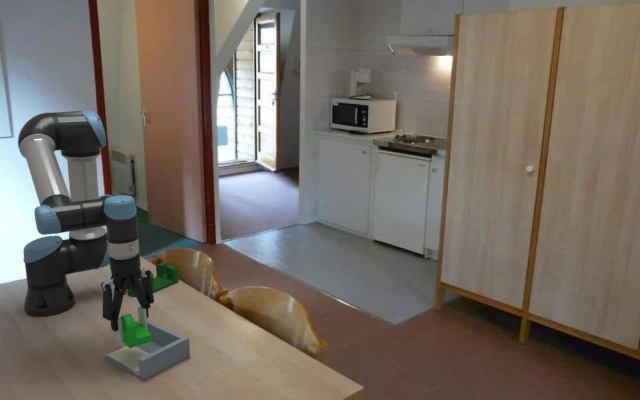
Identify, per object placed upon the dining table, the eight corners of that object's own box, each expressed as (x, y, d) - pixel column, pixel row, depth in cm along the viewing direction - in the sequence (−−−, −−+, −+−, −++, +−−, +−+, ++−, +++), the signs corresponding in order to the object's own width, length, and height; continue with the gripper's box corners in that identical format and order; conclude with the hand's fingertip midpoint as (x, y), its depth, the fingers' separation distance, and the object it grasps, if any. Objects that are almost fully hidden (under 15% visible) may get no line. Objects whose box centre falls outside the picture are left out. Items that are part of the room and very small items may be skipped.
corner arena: (104, 358, 150) (102, 339, 149) (150, 337, 162) (148, 319, 160) (144, 381, 140) (142, 360, 138) (190, 356, 151) (188, 338, 150)
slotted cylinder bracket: (139, 299, 188) (137, 282, 186) (122, 293, 193) (120, 277, 191) (178, 282, 203) (177, 266, 201) (162, 277, 207) (161, 261, 206)
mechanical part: (151, 341, 145) (149, 313, 143) (129, 348, 141) (127, 320, 139) (134, 325, 154) (132, 298, 152) (113, 331, 150) (110, 304, 148)
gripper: (97, 269, 132) (106, 354, 138) (164, 248, 148) (170, 325, 153) (81, 262, 137) (90, 345, 142) (147, 242, 152) (153, 318, 157)
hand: (131, 334), depth 148 cm, fingers closed on mechanical part, 7 cm apart
